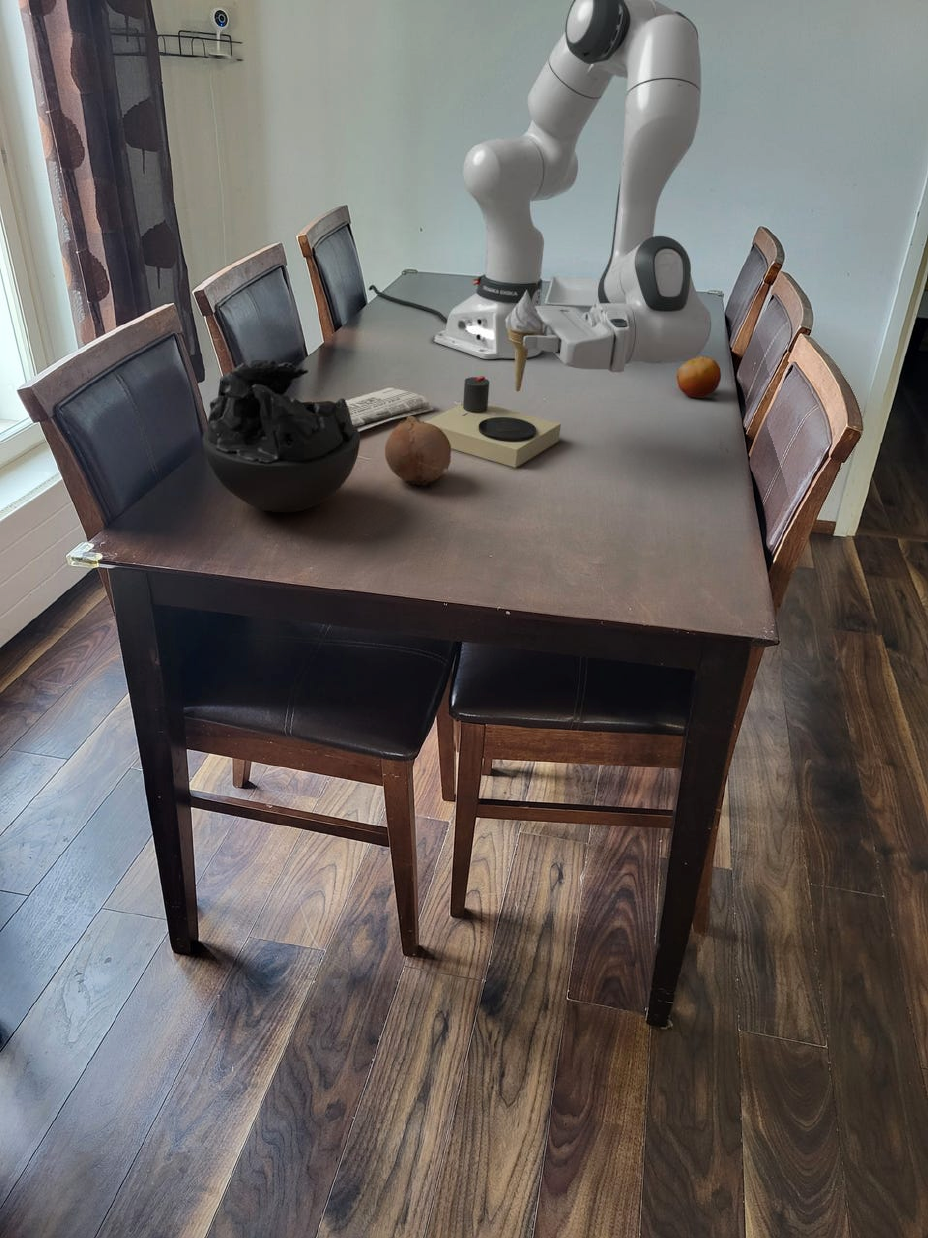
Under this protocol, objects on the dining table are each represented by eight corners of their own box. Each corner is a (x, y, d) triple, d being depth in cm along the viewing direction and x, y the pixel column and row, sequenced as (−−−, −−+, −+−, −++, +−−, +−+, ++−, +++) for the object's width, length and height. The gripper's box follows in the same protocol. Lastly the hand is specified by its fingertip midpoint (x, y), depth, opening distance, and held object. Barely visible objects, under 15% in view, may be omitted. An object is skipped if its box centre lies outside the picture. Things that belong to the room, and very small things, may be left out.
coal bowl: (284, 462, 137) (277, 334, 126) (390, 501, 128) (392, 366, 117) (177, 507, 122) (159, 367, 112) (288, 555, 113) (280, 407, 103)
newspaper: (339, 445, 143) (337, 429, 142) (289, 430, 151) (287, 414, 149) (440, 411, 158) (439, 396, 157) (390, 398, 165) (389, 384, 164)
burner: (467, 431, 143) (467, 427, 143) (497, 416, 149) (497, 412, 149) (517, 446, 139) (518, 442, 139) (546, 429, 146) (546, 425, 145)
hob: (417, 438, 148) (418, 419, 146) (466, 413, 158) (467, 395, 156) (515, 468, 140) (517, 448, 138) (560, 440, 150) (562, 421, 149)
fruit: (729, 397, 169) (714, 357, 166) (687, 414, 172) (671, 375, 169) (727, 383, 175) (713, 344, 172) (687, 400, 179) (672, 362, 175)
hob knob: (479, 414, 149) (481, 384, 147) (458, 408, 151) (460, 379, 148) (491, 408, 152) (494, 378, 150) (471, 402, 154) (473, 373, 151)
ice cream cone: (497, 384, 143) (505, 284, 135) (533, 385, 144) (543, 285, 136) (502, 396, 139) (510, 293, 131) (539, 397, 139) (549, 294, 131)
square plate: (549, 289, 237) (551, 273, 235) (657, 299, 235) (660, 283, 233) (542, 316, 214) (544, 299, 212) (661, 327, 212) (664, 310, 210)
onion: (399, 489, 138) (385, 422, 136) (460, 478, 137) (447, 409, 135) (386, 493, 129) (372, 421, 127) (452, 481, 127) (438, 407, 126)
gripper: (585, 295, 146) (501, 295, 143) (633, 332, 130) (538, 332, 127) (581, 335, 150) (498, 336, 147) (626, 376, 133) (534, 378, 130)
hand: (517, 334), depth 137 cm, fingers closed on ice cream cone, 5 cm apart
